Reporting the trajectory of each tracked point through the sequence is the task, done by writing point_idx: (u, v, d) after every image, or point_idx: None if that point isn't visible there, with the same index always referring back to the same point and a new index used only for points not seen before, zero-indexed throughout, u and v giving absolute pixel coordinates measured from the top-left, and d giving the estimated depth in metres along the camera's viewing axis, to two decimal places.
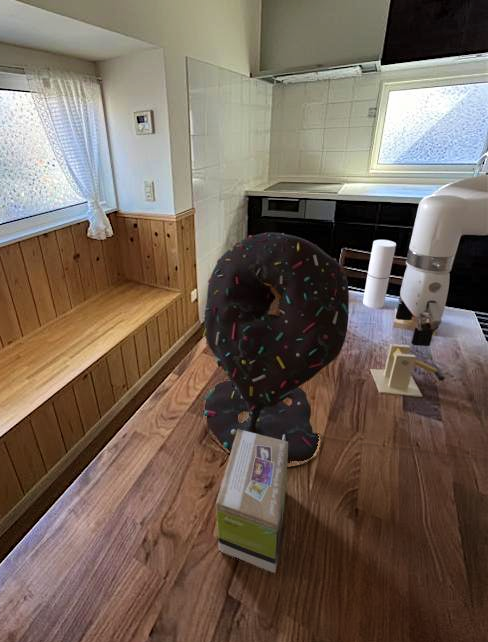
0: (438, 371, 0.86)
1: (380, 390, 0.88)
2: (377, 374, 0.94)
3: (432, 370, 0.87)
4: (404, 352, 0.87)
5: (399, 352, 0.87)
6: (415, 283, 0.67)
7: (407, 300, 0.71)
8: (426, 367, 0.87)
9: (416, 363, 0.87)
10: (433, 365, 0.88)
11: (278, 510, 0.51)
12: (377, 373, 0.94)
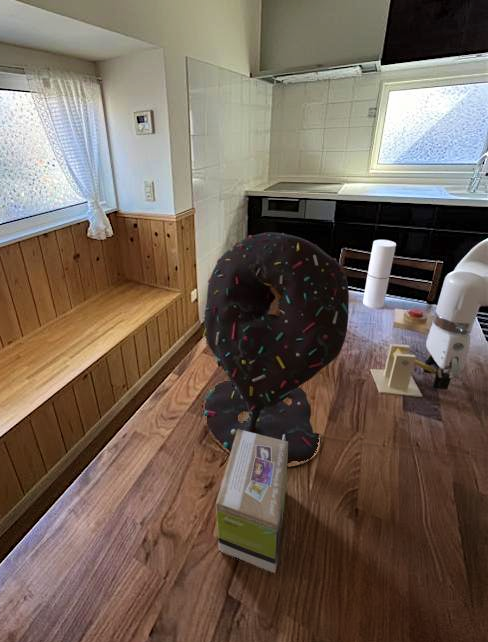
0: None
1: (380, 390, 0.88)
2: (377, 374, 0.94)
3: (432, 370, 0.87)
4: (404, 352, 0.87)
5: (399, 352, 0.87)
6: (441, 341, 0.81)
7: (433, 352, 0.85)
8: (426, 367, 0.87)
9: (416, 363, 0.87)
10: (433, 365, 0.88)
11: (278, 510, 0.51)
12: (377, 373, 0.94)
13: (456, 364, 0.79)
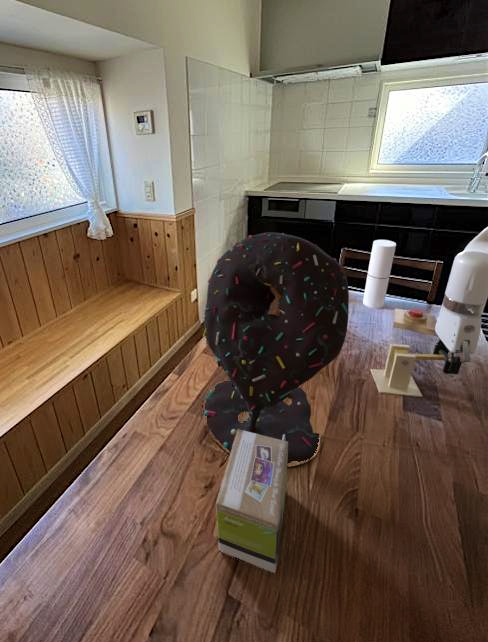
0: (445, 357, 0.84)
1: (380, 390, 0.88)
2: (377, 374, 0.94)
3: (439, 358, 0.85)
4: (402, 351, 0.87)
5: None
6: (451, 324, 0.79)
7: (443, 336, 0.82)
8: (431, 357, 0.85)
9: (419, 357, 0.86)
10: (440, 351, 0.86)
11: (278, 510, 0.51)
12: (377, 373, 0.94)
13: (467, 347, 0.77)
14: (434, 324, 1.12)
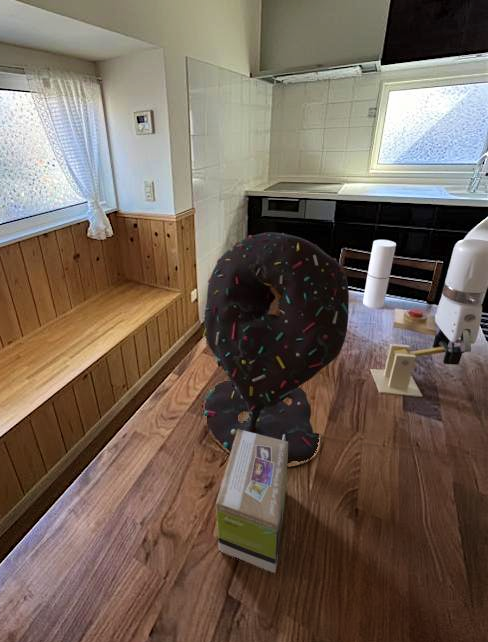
0: (445, 348, 0.83)
1: (380, 390, 0.88)
2: (377, 374, 0.94)
3: (439, 351, 0.84)
4: (401, 351, 0.87)
5: None
6: (451, 313, 0.78)
7: (443, 326, 0.81)
8: (431, 352, 0.85)
9: (419, 354, 0.85)
10: (440, 343, 0.86)
11: (278, 510, 0.51)
12: (377, 373, 0.94)
13: (468, 336, 0.76)
14: (434, 324, 1.12)
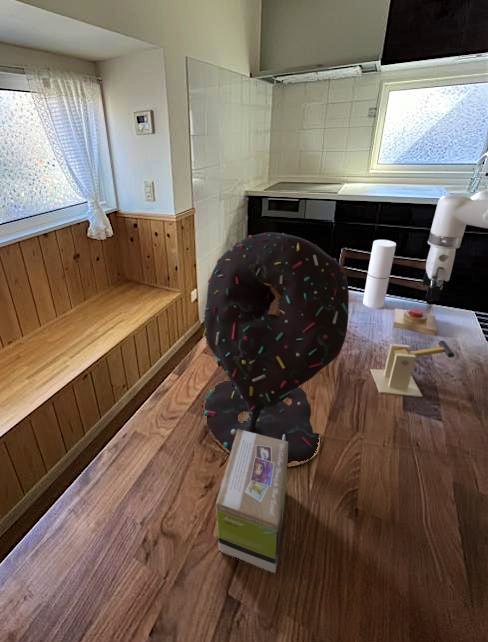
0: (445, 348, 0.83)
1: (380, 390, 0.88)
2: (377, 374, 0.94)
3: (439, 351, 0.84)
4: (401, 351, 0.87)
5: None
6: (431, 255, 0.97)
7: (427, 268, 1.01)
8: (431, 352, 0.85)
9: (419, 354, 0.85)
10: (440, 343, 0.86)
11: (278, 510, 0.51)
12: (377, 373, 0.94)
13: (442, 271, 0.94)
14: (434, 324, 1.12)
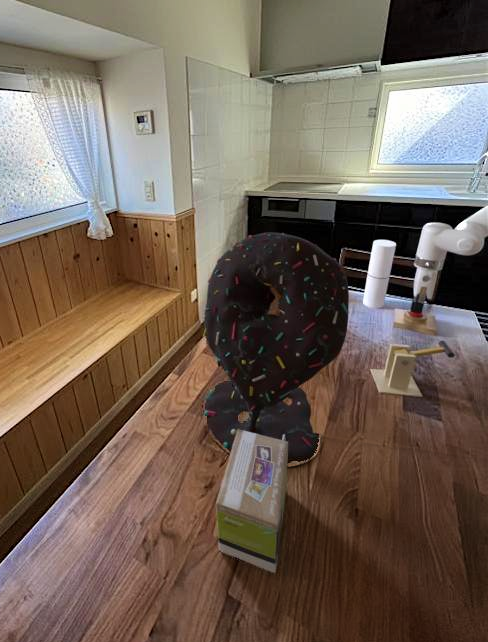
0: (445, 348, 0.83)
1: (380, 390, 0.88)
2: (377, 374, 0.94)
3: (439, 351, 0.84)
4: (401, 351, 0.87)
5: None
6: (416, 275, 1.08)
7: None
8: (431, 352, 0.85)
9: (419, 354, 0.85)
10: (440, 343, 0.86)
11: (278, 510, 0.51)
12: (377, 373, 0.94)
13: (423, 293, 1.07)
14: (434, 324, 1.12)
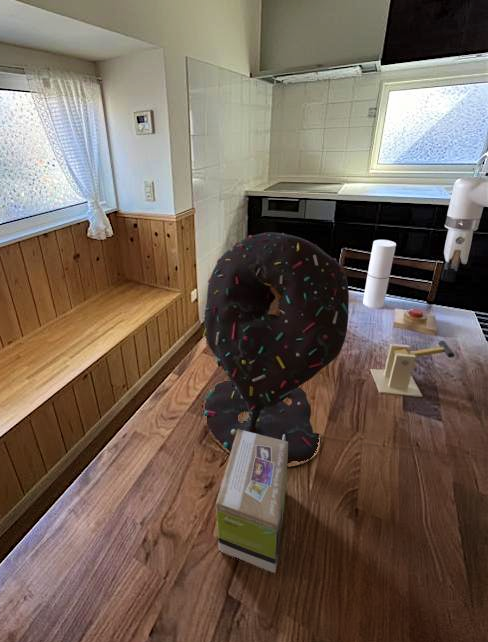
0: (445, 348, 0.83)
1: (380, 390, 0.88)
2: (377, 374, 0.94)
3: (439, 351, 0.84)
4: (401, 351, 0.87)
5: None
6: (448, 238, 0.97)
7: (445, 252, 1.01)
8: (431, 352, 0.85)
9: (419, 354, 0.85)
10: (440, 343, 0.86)
11: (278, 510, 0.51)
12: (377, 373, 0.94)
13: (457, 257, 0.96)
14: (434, 324, 1.12)
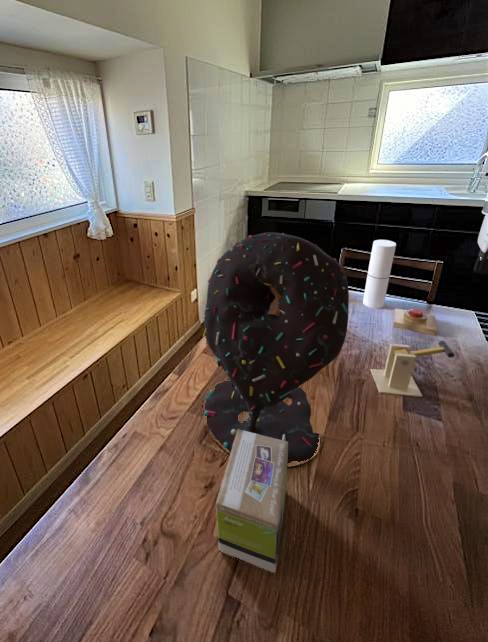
0: (445, 348, 0.83)
1: (380, 390, 0.88)
2: (377, 374, 0.94)
3: (439, 351, 0.84)
4: (401, 351, 0.87)
5: None
6: (486, 226, 0.88)
7: (480, 241, 0.92)
8: (431, 352, 0.85)
9: (419, 354, 0.85)
10: (440, 343, 0.86)
11: (278, 510, 0.51)
12: (377, 373, 0.94)
13: None
14: (434, 324, 1.12)
